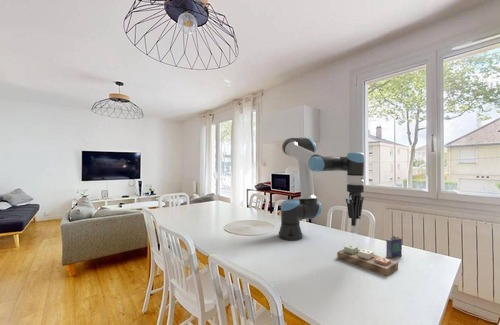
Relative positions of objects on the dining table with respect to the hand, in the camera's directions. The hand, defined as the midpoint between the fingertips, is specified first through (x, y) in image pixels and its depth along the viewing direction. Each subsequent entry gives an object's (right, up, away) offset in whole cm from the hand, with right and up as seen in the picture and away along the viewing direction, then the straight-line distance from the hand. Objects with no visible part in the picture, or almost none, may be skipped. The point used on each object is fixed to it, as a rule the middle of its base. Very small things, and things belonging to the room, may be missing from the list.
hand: (354, 231), depth 113 cm
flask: (+21, -14, +3) cm, 25 cm away
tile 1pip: (-1, -10, +1) cm, 11 cm away
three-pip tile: (+8, -12, -11) cm, 18 cm away
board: (+3, -13, -5) cm, 15 cm away
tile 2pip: (+3, -10, -5) cm, 12 cm away
